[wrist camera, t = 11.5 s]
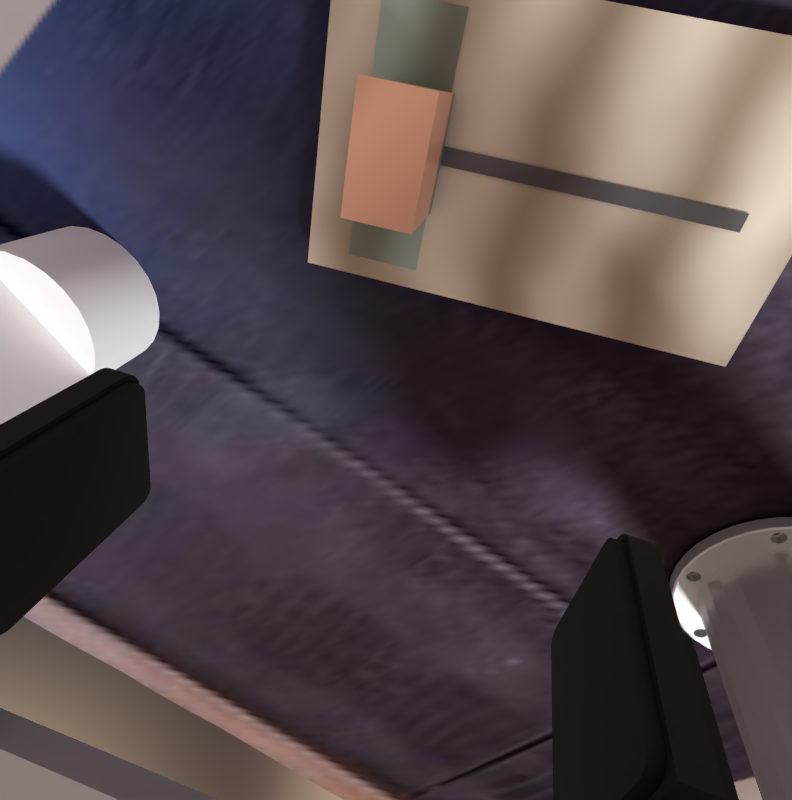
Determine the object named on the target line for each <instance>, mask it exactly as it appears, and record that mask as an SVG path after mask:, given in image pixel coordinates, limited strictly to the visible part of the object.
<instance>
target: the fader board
mask: <svg viewBox="0 0 792 800" xmlns="http://www.w3.org/2000/svg"><path fill="white" fill-rule="evenodd" d="M357 74H361V75H367V76H373V77H379V78H385V79H390V80H395V81H400V82H404V83H409V84H414V85H418V86H423V87H428V88H433V89H437V90H442V91H447V92H451V93H455V97H454V102H453V107H452V112H451V116H450V121H449V126H448V131H447V136H446V141H445V146H444V150H443V155H442V160H441V165H440V170H439V175H438V180H437V184H436V189H435V194H434V199H433V204H432V209H431V213H430V214H429V215H428V217H427V218H426V219H425V220H424V221H423V222H422V223H421V225H420V226H419V227H418V228H417V229H416V230H415V231H414V233H413V234H412V235H411V234H407V233H402V232H398V231H394V230H390V229H386V228H382V227H377V226H373V225H369V224H365V223H361V222H357V221H352V220H348V219H344V218H340V216H341V208H342V199H343V190H344V182H345V173H346V165H347V156H348V147H349V139H350V130H351V122H352V113H353V104H354V96H355V87H356V79H357ZM791 256H792V36H790V35H785V34H780V33H774V32H769V31H764V30H758V29H753V28H748V27H743V26H737V25H732V24H727V23H721V22H716V21H711V20H706V19H700V18H695V17H690V16H684V15H679V14H674V13H669V12H663V11H658V10H653V9H647V8H642V7H637V6H632V5H626V4H621V3H616V2H610V1H605V0H331V2H330V14H329V25H328V37H327V48H326V60H325V71H324V82H323V94H322V105H321V117H320V128H319V140H318V151H317V162H316V174H315V185H314V197H313V208H312V220H311V231H310V242H309V254H308V263H312V264H316V265H320V266H324V267H328V268H332V269H336V270H340V271H344V272H348V273H352V274H356V275H360V276H364V277H368V278H372V279H376V280H380V281H384V282H388V283H392V284H396V285H400V286H404V287H408V288H412V289H416V290H420V291H424V292H428V293H432V294H436V295H440V296H444V297H448V298H452V299H456V300H460V301H464V302H468V303H472V304H476V305H480V306H484V307H488V308H492V309H496V310H500V311H504V312H508V313H512V314H516V315H520V316H524V317H528V318H532V319H536V320H540V321H544V322H548V323H552V324H556V325H560V326H564V327H568V328H572V329H576V330H580V331H584V332H588V333H592V334H596V335H600V336H604V337H608V338H612V339H616V340H620V341H624V342H628V343H632V344H636V345H640V346H644V347H648V348H652V349H656V350H660V351H664V352H668V353H672V354H676V355H680V356H684V357H688V358H692V359H696V360H700V361H704V362H708V363H712V364H716V365H720V366H724V367H726V366H727V364H728V362H729V360H730V359H731V357H732V355H733V354H734V352H735V350H736V349H737V347H738V345H739V344H740V342H741V340H742V338H743V337H744V335H745V333H746V332H747V330H748V328H749V327H750V325H751V323H752V322H753V320H754V318H755V316H756V315H757V313H758V311H759V310H760V308H761V306H762V305H763V303H764V301H765V300H766V298H767V296H768V295H769V293H770V291H771V289H772V288H773V286H774V284H775V283H776V281H777V279H778V278H779V276H780V274H781V273H782V271H783V269H784V267H785V266H786V264H787V262H788V261H789V259H790V257H791Z"/></svg>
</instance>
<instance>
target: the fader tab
mask: <svg viewBox="0 0 792 800" xmlns="http://www.w3.org/2000/svg"><path fill="white" fill-rule="evenodd" d="M454 97H455V93H451V92H447V91H442V90H437V89H433V88H428V87H423V86H418V85H414V84H409V83H404V82H400V81H395V80H390V79H385V78H379V77H373V76H367V75H361V74H357V79H356V87H355V96H354V104H353V113H352V122H351V130H350V139H349V147H348V156H347V165H346V173H345V182H344V190H343V199H342V208H341V216H340V218H344V219H348V220H352V221H357V222H361V223H365V224H369V225H373V226H377V227H382V228H386V229H390V230H394V231H398V232H402V233H407V234H411V235H412V234H413V233H414V231H415V230H416V229H417V228H418V227H419V226H420V225H421V223H422V222H423V221H424V220H425V219H426V218H427V217H428V215H429V214H430V213H431V209H432V204H433V199H434V194H435V189H436V184H437V180H438V175H439V170H440V165H441V160H442V155H443V150H444V146H445V141H446V136H447V131H448V126H449V121H450V116H451V112H452V107H453V102H454Z"/></svg>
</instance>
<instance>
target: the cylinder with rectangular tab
mask: <svg viewBox="0 0 792 800" xmlns="http://www.w3.org/2000/svg"><path fill="white" fill-rule="evenodd" d="M158 328H159V308H158V303H157V298H156V294H155V292H154V289H153V287H152V285H151V283H150V280H149V278H148V276H147V275H146V273H145V272H144V271H143V269H142V268H141V266H140V265H139V263H138V262H137V260H136V259H135V258H134V257H133V256H132V255H131V254H130V253H129V252H128V251H127V250H126V249H125V248H124V247H123V246H121V245H120V244H118V243H117V242H115V241H114V240H112V239H111V238H109V237H108V236H106V235H105V234H102V233H100V232H97V231H95V230H92V229H90V228H85V227H76V226H69V227H65V228H60V229H56V230H52V231H49V232H45V233H41V234H37V235H34V236H30V237H26V238H23V239H19V240H15V241H11V242H8V243H4V244H0V424H2V423H4V422H6V421H8V420H9V419H11V418H13V417H15V416H17V415H19V414H20V413H22V412H24V411H26V410H28V409H29V408H31V407H33V406H35V405H37V404H38V403H40V402H42V401H44V400H46V399H48V398H49V397H51V396H53V395H55V394H57V393H58V392H60V391H62V390H64V389H66V388H68V387H69V386H71V385H73V384H75V383H77V382H78V381H80V380H82V379H84V378H86V377H87V376H89V375H91V374H93V373H95V372H97V371H98V370H100V369H103V368H111V369H114V370H116V369H117V368H119V367H120V366H122V365H123V364H125V363H126V362H128V361H130V360H131V359H133V358H134V357H136V356H137V355H139V354H140V353H142V352H143V351H145V350H146V349H147V348H148V347H149V345H150V344H151V343H152V342H153V341H154V339H155V336H156V333H157V331H158Z"/></svg>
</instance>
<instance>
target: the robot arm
mask: <svg viewBox="0 0 792 800" xmlns="http://www.w3.org/2000/svg"><path fill="white" fill-rule="evenodd" d="M149 491H150V471H149V455H148V439H147V423H146V406H145V392H144V389H143V387H142V386H140V385H139V381H138V379H137V378H136V377H134V376H133V375H130V374H126V373H123V372H120V371H117V370H114V369H111V368H103V369H100V370H98V371H97V372H95V373H93V374H91V375H89V376H87V377H86V378H84V379H82V380H80V381H78V382H77V383H75V384H73V385H71V386H69V387H68V388H66V389H64V390H62V391H60V392H58V393H57V394H55V395H53V396H51V397H49V398H48V399H46V400H44V401H42V402H40V403H38V404H37V405H35V406H33V407H31V408H29V409H28V410H26V411H24V412H22V413H20V414H19V415H17V416H15V417H13V418H11V419H9V420H8V421H6V422H4V423H2V424H0V635H1V634H3V633H5V632H6V631H8V630H9V629H10V628H11V627H12V626H14V624H16V623H17V622H18V621H19V620H20V619H21V618H22V617H23V616H24V615H25V614H26V613H27V612H28V611H29V610H30V609H32V608H33V607H34V606H35V605H36V604H37V603H38V602H39V601H40V600H41V599H42V598H43V597H44V596H45V595H46V594H47V593H49V592H50V591H51V590H52V589H53V588H54V587H55V586H56V585H57V584H58V583H59V582H60V581H61V580H62V579H63V578H64V577H65V576H67V575H68V574H69V573H70V572H71V571H72V570H73V569H74V568H75V567H76V566H77V565H78V564H79V563H80V562H81V561H82V560H83V559H85V558H86V557H87V556H88V555H89V554H90V553H91V552H92V551H93V550H94V549H95V548H96V547H97V546H98V545H99V544H100V543H102V542H103V541H104V540H105V539H106V538H107V537H108V536H109V535H110V534H111V533H112V532H113V531H114V530H115V529H116V528H117V527H118V526H120V525H121V524H122V523H123V522H124V521H125V520H126V519H127V518H128V517H129V516H130V515H131V514H132V513H133V512H134V511H135V510H137V509H138V508H139V507H140V506H141V505H142V504H143V503H144V501H145V500H146V498H147V497H148V494H149ZM680 625H681V626H680ZM681 627H682V629H683V630H684V631H685V632H686V633H687V634H688V635H689V636H690V637H692V638H693V639H694V640H696V641H697V642H699V643H700V644H702V645H703V646H705V647H707V648H709V649H711V650H712V652H713V655H714V658H715V661H716V663H717V666H718V669H719V672H720V675H721V678H722V681H723V684H724V687H725V690H726V693H727V696H728V699H729V702H730V705H731V708H732V711H733V714H734V717H735V720H736V723H737V726H738V728H739V731H740V734H741V737H742V740H743V743H744V746H745V749H746V752H747V755H748V758H749V761H750V764H751V767H752V770H753V773H754V776H755V779H756V782H757V785H758V787H759V791H760V793H761V796H762V799H763V800H792V517H776V518H768V519H760V520H754V521H750V522H746V523H742V524H738V525H734V526H731V527H729V528H726V529H724V530H722V531H719V532H717V533H714V534H712V535H711V536H709V537H707V538H706V539H704V540H702V541H700V542H699V543H697V544H696V545H695V546H694V547H693V548H691V549H690V550H689V551H688V552H687V553H686V554H685V555H684V556H683V557H682V558H681V560H680V561H679V562H678V564H677V565H676V566H675V569H674V571H673V573H672V575H671V577H670V583H669V582H668V578H667V574H666V571H665V567H664V563H663V560H662V556H661V552H660V549H659V547H658V546H657V545H656V544H655V543H651V542H648V541H645V540H642V539H639V538H636V537H633V536H630V535H627V534H622V535H621V536H619V537H618V539H617V540H616V539H613V538H609V539H607V541H606V542H605V543H604V545H603V547H602V549H601V550H600V552H599V554H598V556H597V557H596V559H595V561H594V563H593V564H592V566H591V568H590V570H589V571H588V573H587V575H586V577H585V578H584V580H583V582H582V584H581V585H580V587H579V589H578V591H577V592H576V594H575V596H574V597H573V599H572V601H571V603H570V604H569V606H568V608H567V610H566V611H565V613H564V615H563V617H562V618H561V620H560V622H559V624H558V625H557V627H556V629H555V632H554V635H553V639H552V647H551V660H552V739H553V800H739V799H738V796H737V792H736V789H735V785H734V782H733V778H732V775H731V771H730V768H729V764H728V761H727V757H726V754H725V751H724V747H723V744H722V740H721V737H720V733H719V730H718V726H717V723H716V719H715V716H714V712H713V709H712V705H711V702H710V698H709V695H708V691H707V688H706V684H705V681H704V677H703V674H702V670H701V667H700V664H699V660H698V657H697V653H696V650H695V647H694V645H693V642H692V640H691V639H690V637H689V636H688V635H687V634H686V633H683V632H682V630H681ZM0 800H218V799H215V798H213V797H211V796H208V795H206V794H204V793H201V792H199V791H196V790H194V789H192V788H189V787H187V786H185V785H182V784H180V783H178V782H175V781H172V780H171V779H168V778H166V777H163V776H161V775H159V774H156V773H154V772H152V771H149V770H147V769H144V768H142V767H140V766H137V765H135V764H133V763H130V762H128V761H125V760H123V759H120V758H118V757H116V756H114V755H111V754H109V753H107V752H104V751H102V750H99V749H97V748H95V747H92V746H90V745H87V744H85V743H83V742H80V741H78V740H76V739H73V738H71V737H68V736H66V735H64V734H61V733H59V732H56V731H54V730H52V729H49V728H47V727H45V726H42V725H40V724H37V723H35V722H33V721H30V720H28V719H25V718H23V717H21V716H18V715H16V714H13V713H11V712H8V711H6V710H3V709H1V708H0Z"/></svg>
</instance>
